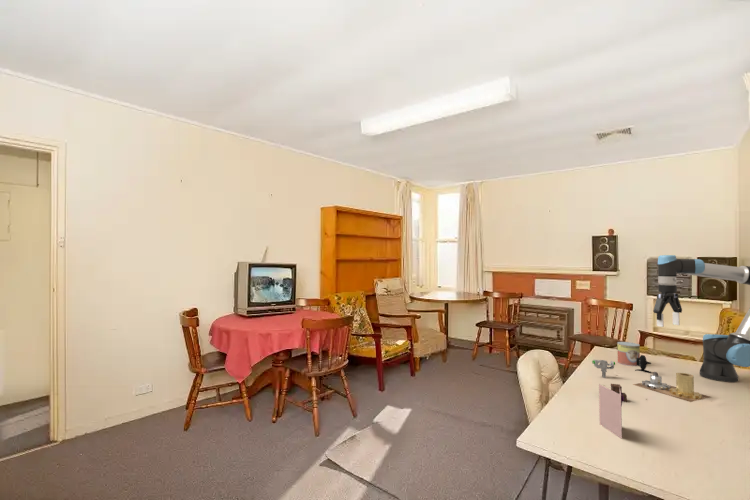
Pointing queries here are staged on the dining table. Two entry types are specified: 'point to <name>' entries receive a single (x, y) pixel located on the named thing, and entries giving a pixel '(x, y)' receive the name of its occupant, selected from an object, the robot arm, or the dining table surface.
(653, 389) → the gear board
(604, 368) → the mechanical component
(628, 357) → the canned food
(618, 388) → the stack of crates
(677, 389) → the brass gear
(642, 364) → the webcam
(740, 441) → the dining table surface
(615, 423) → the greeting card
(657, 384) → the steel gear
